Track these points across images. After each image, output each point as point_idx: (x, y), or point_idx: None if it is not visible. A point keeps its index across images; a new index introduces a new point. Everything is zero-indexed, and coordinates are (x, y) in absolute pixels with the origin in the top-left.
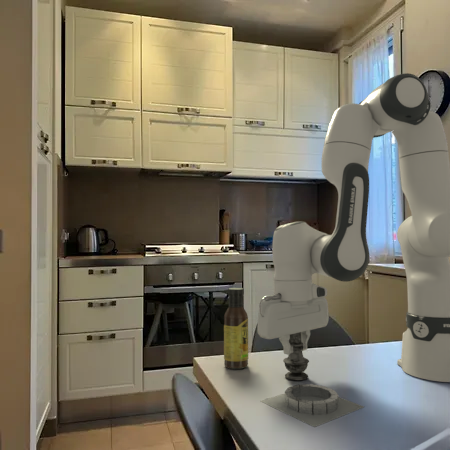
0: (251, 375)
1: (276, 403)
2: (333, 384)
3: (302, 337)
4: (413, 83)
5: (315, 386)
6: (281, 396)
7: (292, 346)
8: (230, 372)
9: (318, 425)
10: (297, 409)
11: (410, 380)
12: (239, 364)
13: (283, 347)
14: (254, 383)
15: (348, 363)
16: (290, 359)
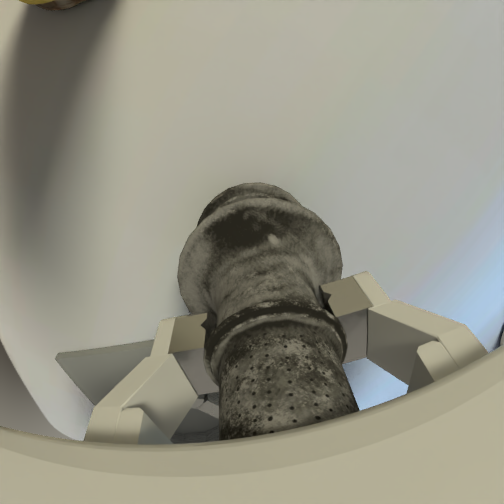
0: (81, 92)
1: (92, 383)
2: None
3: (401, 344)
4: None
5: (212, 413)
6: (114, 361)
7: (217, 389)
8: (26, 38)
9: None
10: None
11: (491, 327)
12: (57, 3)
13: (153, 348)
14: (61, 200)
15: None
16: (210, 306)
